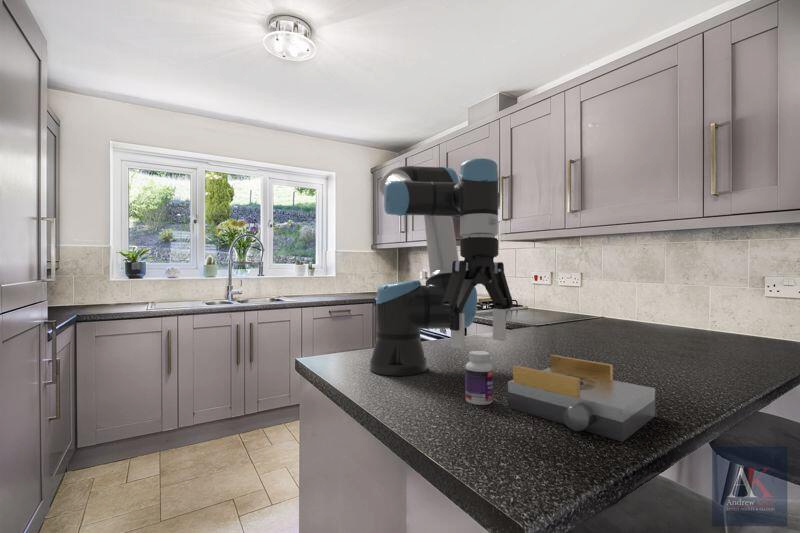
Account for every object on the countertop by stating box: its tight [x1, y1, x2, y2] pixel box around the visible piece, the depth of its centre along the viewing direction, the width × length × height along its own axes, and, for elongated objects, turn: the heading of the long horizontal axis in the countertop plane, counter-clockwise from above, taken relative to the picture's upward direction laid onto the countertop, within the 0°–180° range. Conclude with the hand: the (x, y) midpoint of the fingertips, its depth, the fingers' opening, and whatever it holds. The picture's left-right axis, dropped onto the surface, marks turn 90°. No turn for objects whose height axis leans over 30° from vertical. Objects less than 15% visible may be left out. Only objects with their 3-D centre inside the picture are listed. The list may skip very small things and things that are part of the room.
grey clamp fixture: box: [507, 354, 656, 443], centre depth 71 cm, size 20×19×8 cm
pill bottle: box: [465, 350, 494, 406], centre depth 78 cm, size 5×5×10 cm
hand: (479, 343), depth 78 cm, fingers open, 13 cm apart
